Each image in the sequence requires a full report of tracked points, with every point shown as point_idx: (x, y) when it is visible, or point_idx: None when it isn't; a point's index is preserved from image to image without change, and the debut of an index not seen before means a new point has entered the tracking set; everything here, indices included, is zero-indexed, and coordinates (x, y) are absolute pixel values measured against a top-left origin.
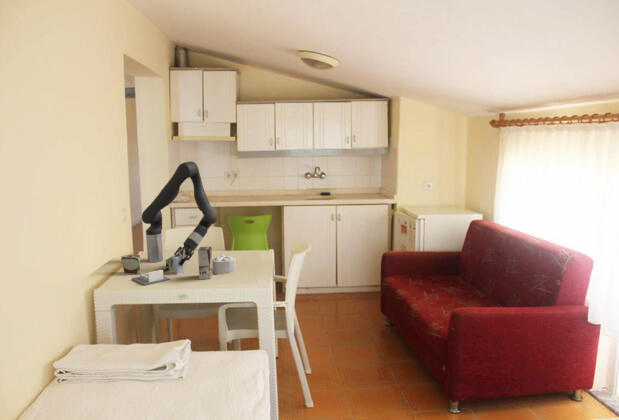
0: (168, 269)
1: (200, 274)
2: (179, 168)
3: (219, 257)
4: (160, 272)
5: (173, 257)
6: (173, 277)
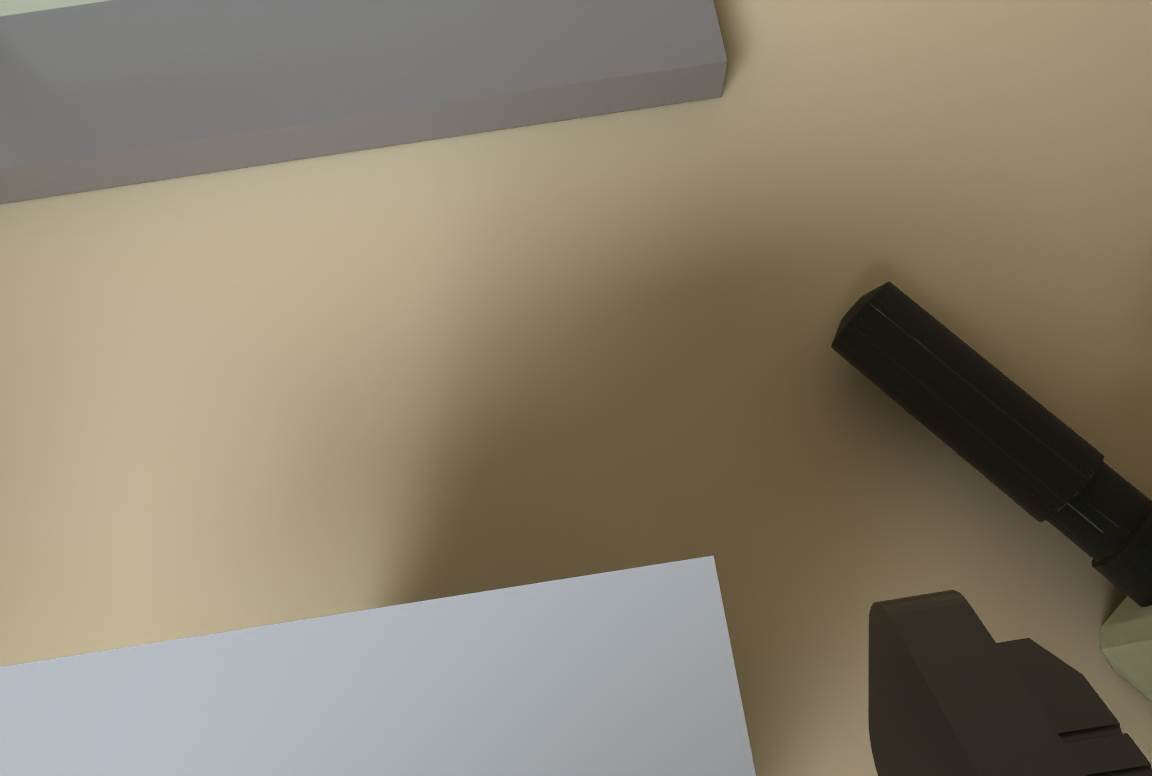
0: (1131, 597)
1: None
2: None
3: None
4: None
5: (550, 586)
6: (6, 430)
